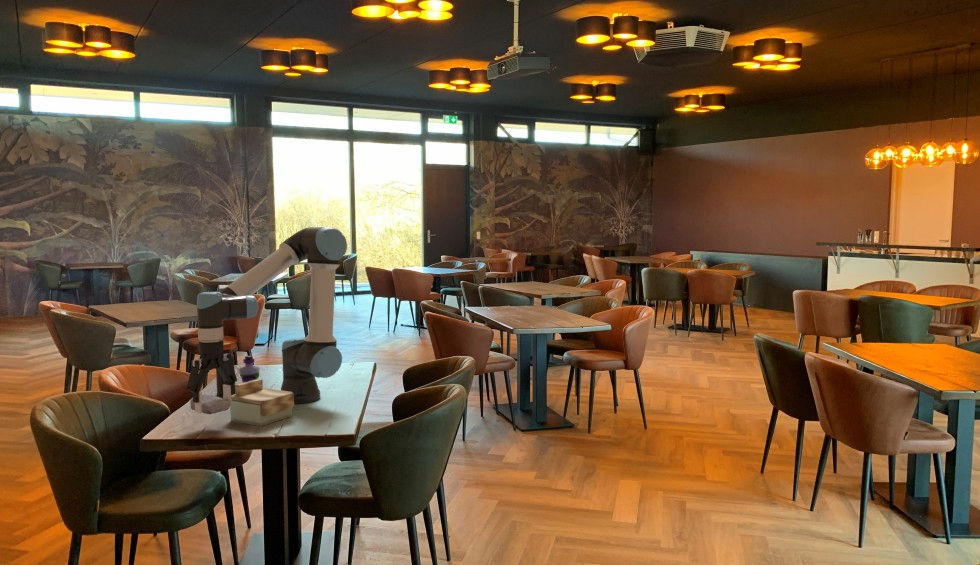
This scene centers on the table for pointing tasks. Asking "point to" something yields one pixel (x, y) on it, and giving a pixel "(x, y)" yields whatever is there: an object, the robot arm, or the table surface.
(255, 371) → the potion bottle
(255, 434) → the table surface
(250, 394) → the lid
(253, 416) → the cream box
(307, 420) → the table surface
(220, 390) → the vinegar
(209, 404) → the stone block
